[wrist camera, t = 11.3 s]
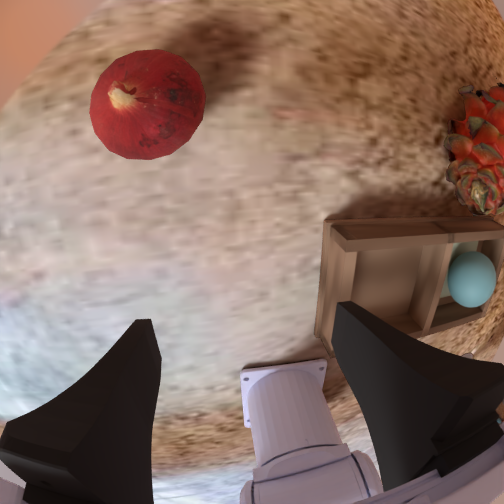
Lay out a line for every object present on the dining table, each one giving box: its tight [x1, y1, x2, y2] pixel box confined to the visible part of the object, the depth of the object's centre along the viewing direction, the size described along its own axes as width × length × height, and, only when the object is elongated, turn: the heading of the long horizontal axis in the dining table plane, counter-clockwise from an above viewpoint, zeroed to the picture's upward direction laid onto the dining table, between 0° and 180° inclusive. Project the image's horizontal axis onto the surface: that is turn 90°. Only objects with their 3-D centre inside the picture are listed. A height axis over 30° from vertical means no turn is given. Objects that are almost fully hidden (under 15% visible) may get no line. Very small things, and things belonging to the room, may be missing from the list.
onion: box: [89, 49, 206, 160], centre depth 12 cm, size 6×6×8 cm
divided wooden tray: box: [314, 216, 504, 358], centre depth 22 cm, size 10×19×3 cm, turn 92°
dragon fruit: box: [444, 78, 504, 217], centre depth 16 cm, size 8×8×12 cm
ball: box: [447, 251, 496, 307], centre depth 21 cm, size 5×5×5 cm
